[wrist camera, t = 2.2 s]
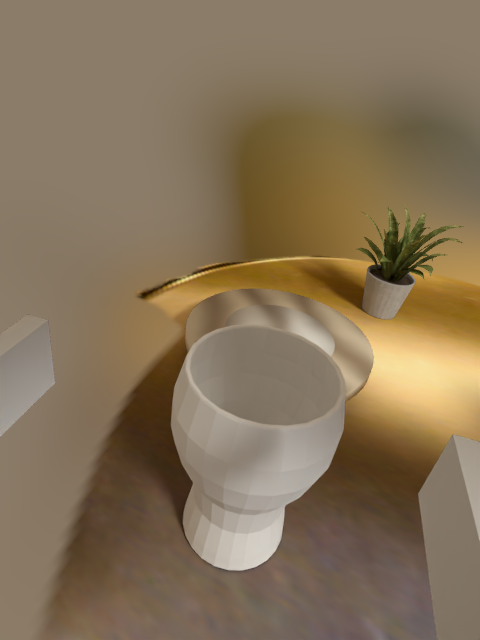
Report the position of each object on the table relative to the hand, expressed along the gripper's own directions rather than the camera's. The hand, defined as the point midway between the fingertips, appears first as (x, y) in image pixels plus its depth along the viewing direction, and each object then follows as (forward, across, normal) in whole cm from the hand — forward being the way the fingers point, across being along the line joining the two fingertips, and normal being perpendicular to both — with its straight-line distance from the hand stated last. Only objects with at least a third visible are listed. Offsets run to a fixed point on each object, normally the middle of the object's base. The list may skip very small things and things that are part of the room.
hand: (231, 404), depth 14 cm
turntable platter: (+32, -1, -19) cm, 37 cm away
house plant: (+51, +14, -20) cm, 57 cm away
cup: (+10, 0, -21) cm, 23 cm away
